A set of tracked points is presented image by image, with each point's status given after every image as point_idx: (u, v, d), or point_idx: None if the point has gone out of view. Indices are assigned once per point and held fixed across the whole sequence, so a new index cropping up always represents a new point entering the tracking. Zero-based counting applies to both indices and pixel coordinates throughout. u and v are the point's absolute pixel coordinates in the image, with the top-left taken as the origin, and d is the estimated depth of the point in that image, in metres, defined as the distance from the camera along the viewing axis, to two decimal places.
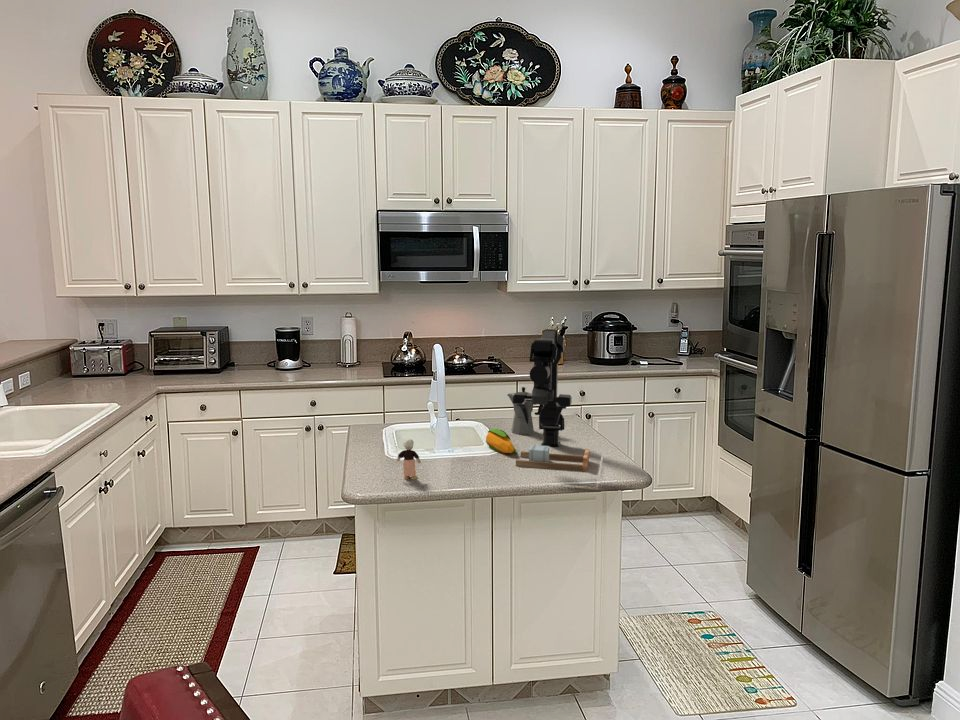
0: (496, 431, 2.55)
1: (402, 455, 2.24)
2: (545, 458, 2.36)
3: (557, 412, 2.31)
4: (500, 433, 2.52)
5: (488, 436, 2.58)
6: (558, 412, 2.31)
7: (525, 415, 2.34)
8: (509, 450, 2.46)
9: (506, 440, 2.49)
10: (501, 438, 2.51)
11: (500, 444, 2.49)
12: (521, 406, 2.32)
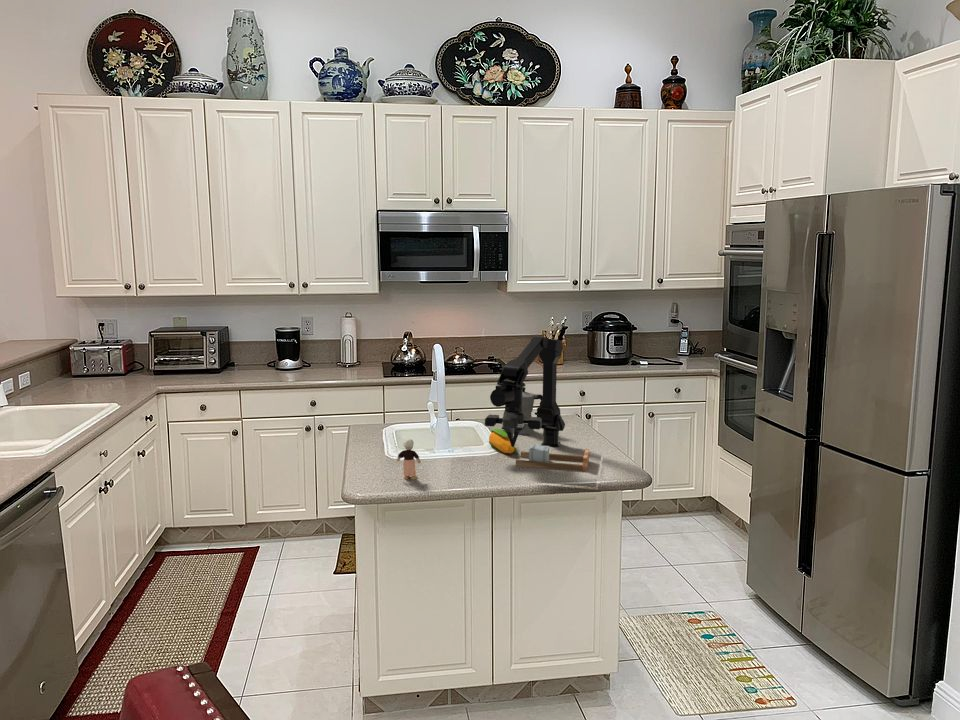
0: (498, 431, 2.55)
1: (402, 455, 2.24)
2: (545, 458, 2.36)
3: (515, 434, 2.39)
4: (502, 433, 2.53)
5: (491, 436, 2.58)
6: (516, 434, 2.39)
7: (510, 438, 2.40)
8: (509, 450, 2.46)
9: (507, 440, 2.49)
10: (502, 438, 2.51)
11: (501, 444, 2.49)
12: (506, 429, 2.38)
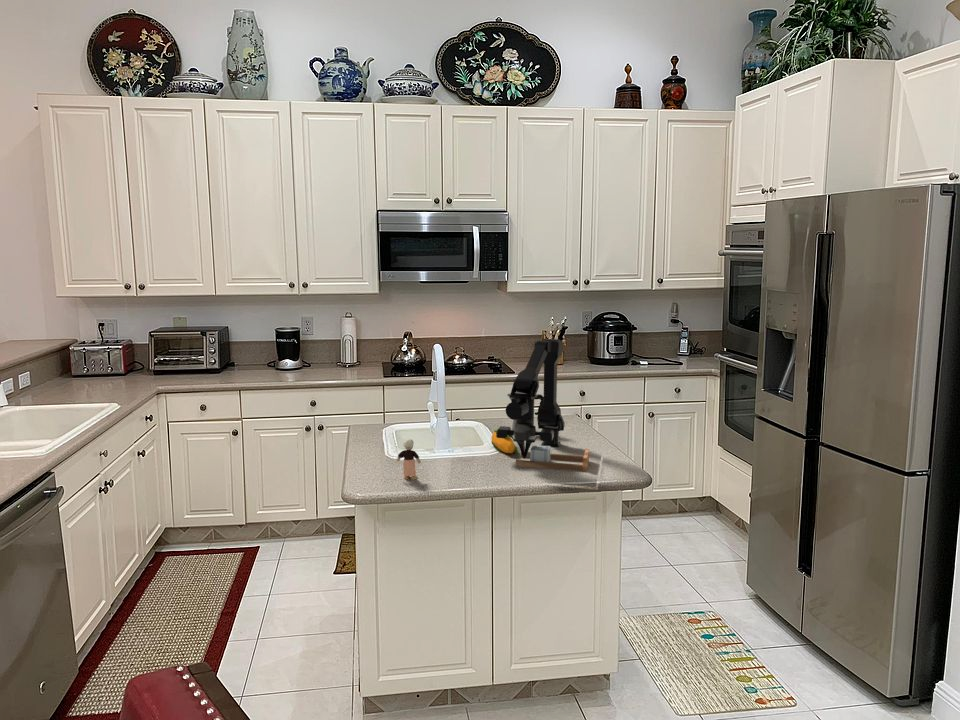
0: None
1: (402, 455, 2.24)
2: (546, 458, 2.36)
3: (526, 446, 2.39)
4: None
5: (493, 436, 2.58)
6: (527, 446, 2.39)
7: (521, 450, 2.40)
8: (509, 450, 2.46)
9: (508, 440, 2.49)
10: (503, 438, 2.51)
11: (502, 444, 2.49)
12: (517, 441, 2.38)
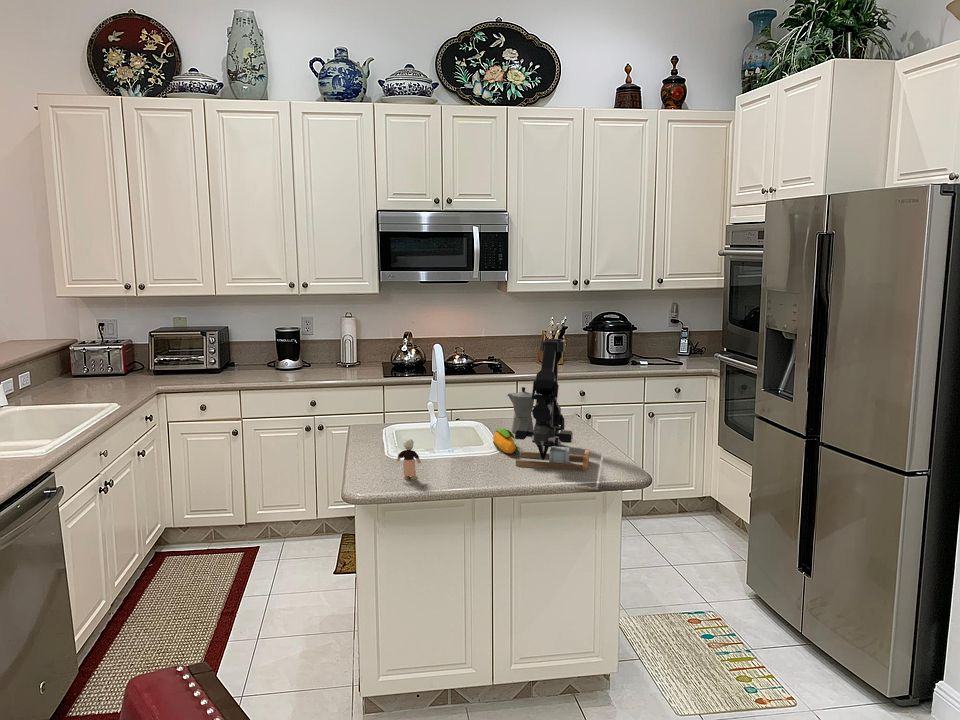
0: (501, 431, 2.55)
1: (402, 455, 2.24)
2: (566, 460, 2.35)
3: (545, 447, 2.37)
4: (504, 433, 2.53)
5: (494, 435, 2.58)
6: (546, 447, 2.37)
7: (540, 451, 2.38)
8: (509, 450, 2.45)
9: (508, 440, 2.49)
10: (504, 438, 2.51)
11: (502, 444, 2.49)
12: (536, 443, 2.37)
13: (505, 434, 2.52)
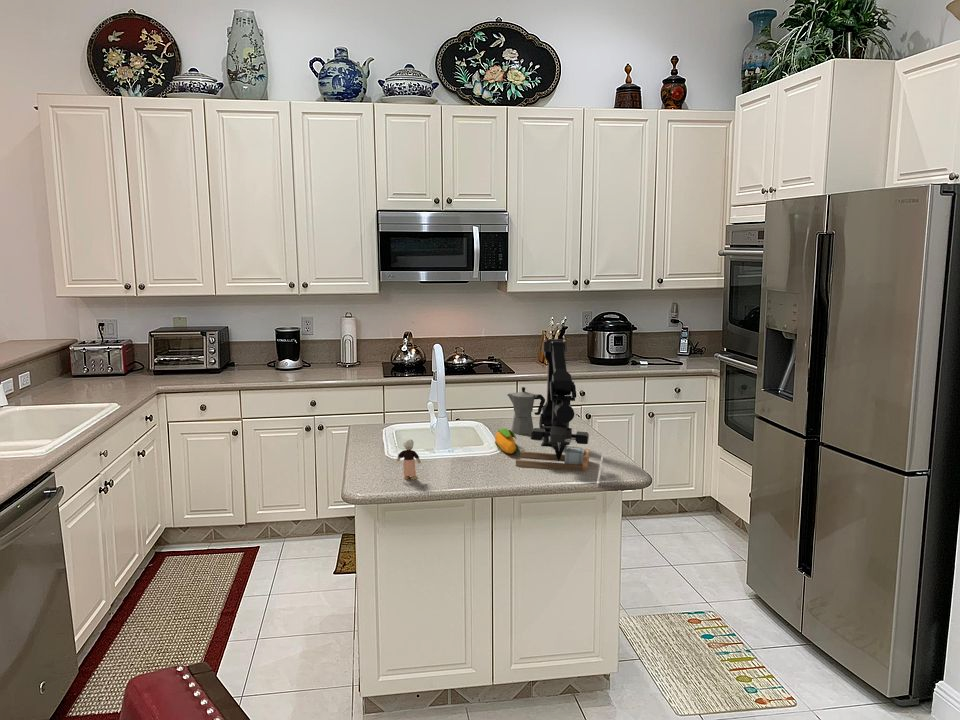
0: (503, 431, 2.55)
1: (402, 455, 2.24)
2: (581, 461, 2.34)
3: (561, 448, 2.36)
4: (505, 433, 2.53)
5: (496, 435, 2.59)
6: (562, 448, 2.36)
7: (556, 452, 2.37)
8: (509, 450, 2.45)
9: (509, 440, 2.49)
10: (505, 438, 2.51)
11: (503, 444, 2.49)
12: (553, 444, 2.36)
13: (506, 434, 2.52)
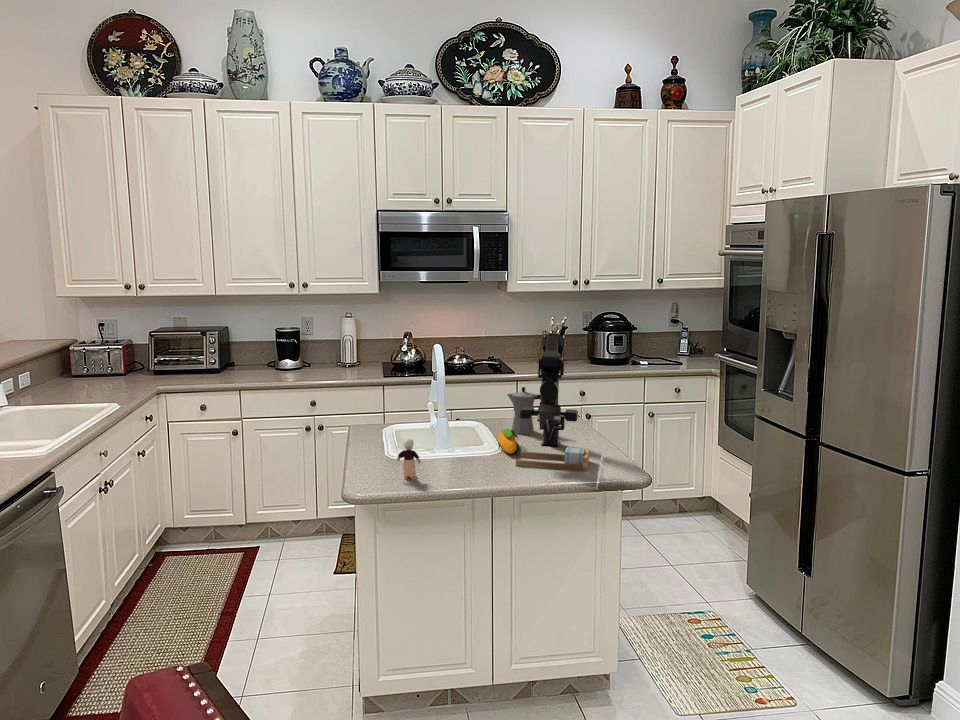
0: (505, 431, 2.55)
1: (402, 455, 2.24)
2: (581, 461, 2.34)
3: (550, 426, 2.36)
4: (506, 433, 2.53)
5: (499, 435, 2.59)
6: (551, 426, 2.35)
7: (545, 431, 2.36)
8: (509, 450, 2.45)
9: (510, 440, 2.49)
10: (506, 438, 2.51)
11: (503, 444, 2.50)
12: (542, 422, 2.35)
13: (507, 434, 2.52)
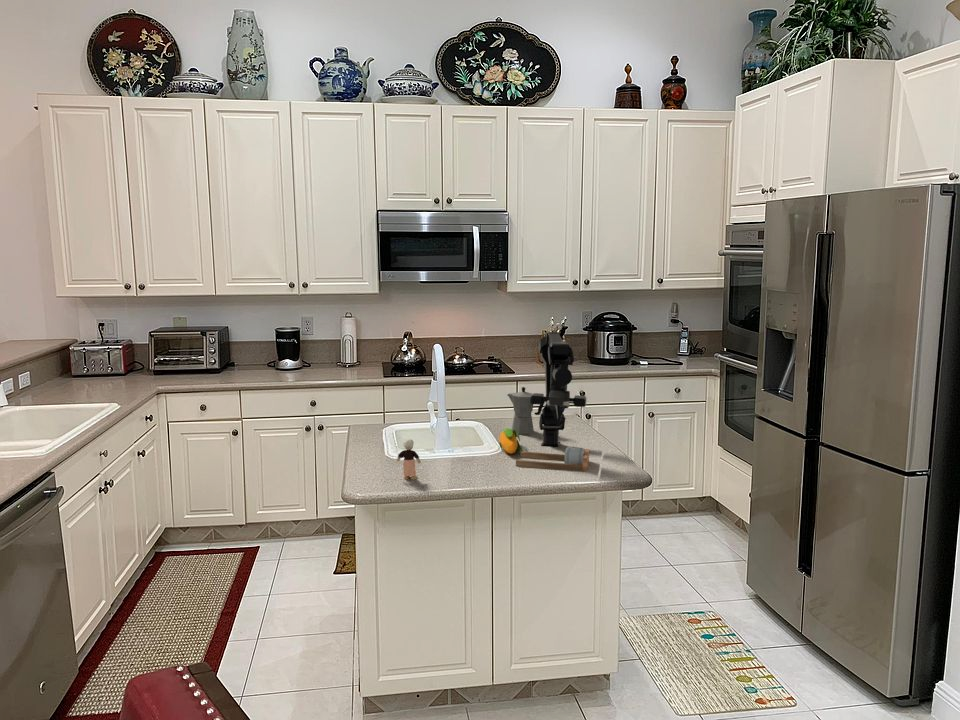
0: (506, 431, 2.55)
1: (402, 455, 2.24)
2: (581, 461, 2.34)
3: (560, 411, 2.44)
4: (507, 433, 2.53)
5: (500, 435, 2.59)
6: (561, 411, 2.44)
7: (555, 416, 2.45)
8: (509, 450, 2.45)
9: (510, 440, 2.49)
10: (507, 438, 2.51)
11: (504, 444, 2.50)
12: (551, 407, 2.43)
13: (508, 434, 2.52)
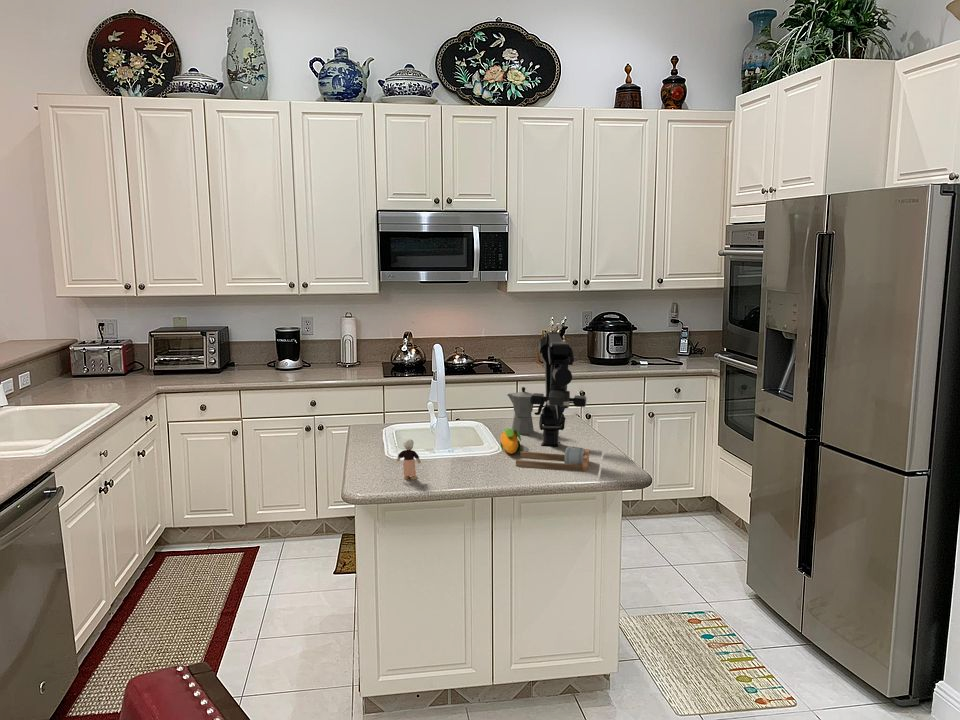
0: (507, 431, 2.55)
1: (402, 455, 2.24)
2: (581, 461, 2.34)
3: (560, 411, 2.44)
4: (508, 433, 2.53)
5: (501, 435, 2.59)
6: (561, 411, 2.44)
7: (555, 416, 2.45)
8: (509, 450, 2.45)
9: (510, 440, 2.49)
10: (507, 438, 2.51)
11: (504, 444, 2.50)
12: (551, 407, 2.43)
13: (509, 434, 2.51)
